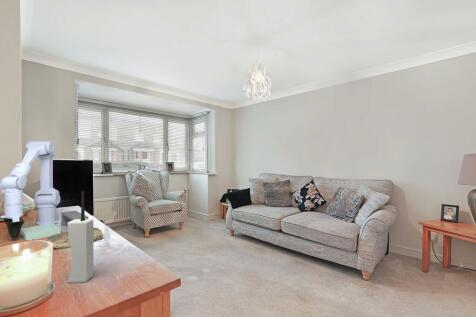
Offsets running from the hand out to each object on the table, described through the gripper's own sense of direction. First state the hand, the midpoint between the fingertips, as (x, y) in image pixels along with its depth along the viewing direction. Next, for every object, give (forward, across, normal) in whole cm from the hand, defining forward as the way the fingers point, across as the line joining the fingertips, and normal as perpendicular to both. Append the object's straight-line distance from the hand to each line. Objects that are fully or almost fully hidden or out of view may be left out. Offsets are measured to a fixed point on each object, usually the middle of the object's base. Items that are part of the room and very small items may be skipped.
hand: (13, 235), depth 100 cm
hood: (+1, 0, +22) cm, 22 cm away
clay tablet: (+2, +24, +16) cm, 29 cm away
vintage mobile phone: (+2, +61, +8) cm, 62 cm away
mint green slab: (+2, 0, +9) cm, 9 cm away
